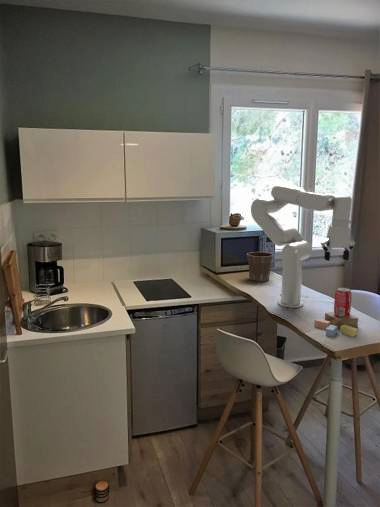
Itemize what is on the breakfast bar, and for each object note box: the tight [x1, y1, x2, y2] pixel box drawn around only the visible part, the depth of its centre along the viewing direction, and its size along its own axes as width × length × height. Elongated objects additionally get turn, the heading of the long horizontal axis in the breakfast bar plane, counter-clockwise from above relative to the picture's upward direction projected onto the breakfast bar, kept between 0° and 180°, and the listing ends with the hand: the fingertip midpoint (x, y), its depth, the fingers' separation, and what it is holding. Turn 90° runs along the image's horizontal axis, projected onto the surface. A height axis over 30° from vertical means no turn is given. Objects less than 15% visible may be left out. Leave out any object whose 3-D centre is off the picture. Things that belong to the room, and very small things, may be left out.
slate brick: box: [325, 325, 339, 338], centre depth 187 cm, size 6×3×3 cm, turn 145°
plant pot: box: [246, 251, 274, 283], centre depth 275 cm, size 16×16×16 cm
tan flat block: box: [324, 311, 359, 330], centre depth 198 cm, size 10×10×4 cm
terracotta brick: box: [313, 318, 331, 330], centre depth 195 cm, size 6×3×3 cm, turn 47°
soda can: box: [333, 287, 353, 317], centre depth 197 cm, size 7×7×12 cm
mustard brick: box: [339, 325, 358, 337], centre depth 187 cm, size 6×3×3 cm, turn 32°
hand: (336, 259), depth 206 cm, fingers open, 9 cm apart
